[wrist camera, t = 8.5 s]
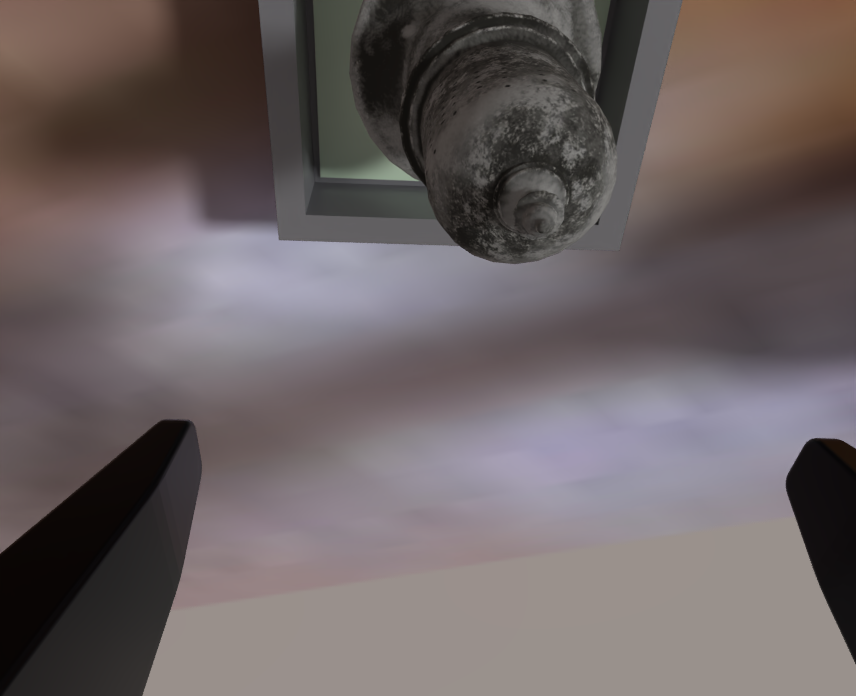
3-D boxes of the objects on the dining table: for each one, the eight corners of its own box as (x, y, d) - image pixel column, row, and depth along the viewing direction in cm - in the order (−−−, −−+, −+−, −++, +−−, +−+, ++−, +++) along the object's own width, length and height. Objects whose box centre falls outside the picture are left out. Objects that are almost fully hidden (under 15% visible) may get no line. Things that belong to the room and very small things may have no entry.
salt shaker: (599, 81, 19) (824, 295, 9) (424, 182, 20) (452, 459, 10) (512, -140, 16) (709, -184, 6) (313, -1, 17) (204, 148, 7)
